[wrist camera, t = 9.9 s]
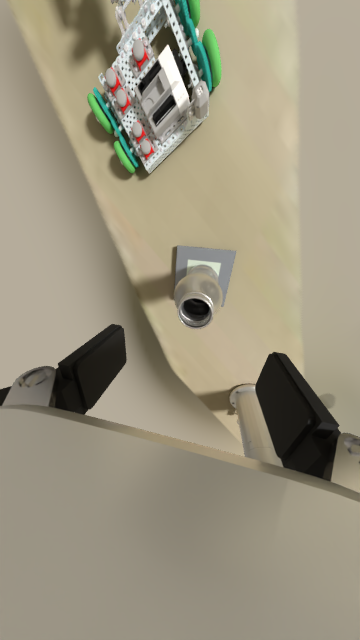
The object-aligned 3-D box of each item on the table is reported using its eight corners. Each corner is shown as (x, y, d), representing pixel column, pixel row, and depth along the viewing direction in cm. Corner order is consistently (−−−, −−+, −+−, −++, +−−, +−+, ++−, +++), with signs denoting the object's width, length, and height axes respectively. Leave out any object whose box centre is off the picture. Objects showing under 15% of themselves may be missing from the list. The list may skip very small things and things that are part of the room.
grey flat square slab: (222, 304, 36) (223, 306, 35) (174, 298, 37) (173, 300, 36) (235, 250, 31) (236, 251, 29) (178, 245, 32) (177, 245, 31)
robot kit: (135, -178, 16) (52, -663, 7) (231, 111, 23) (244, 34, 15) (45, 20, 22) (-53, -116, 14) (141, 195, 30) (116, 174, 21)
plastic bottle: (207, 298, 34) (206, 350, 17) (182, 283, 34) (154, 321, 16) (223, 273, 32) (243, 304, 14) (196, 257, 31) (180, 267, 13)
